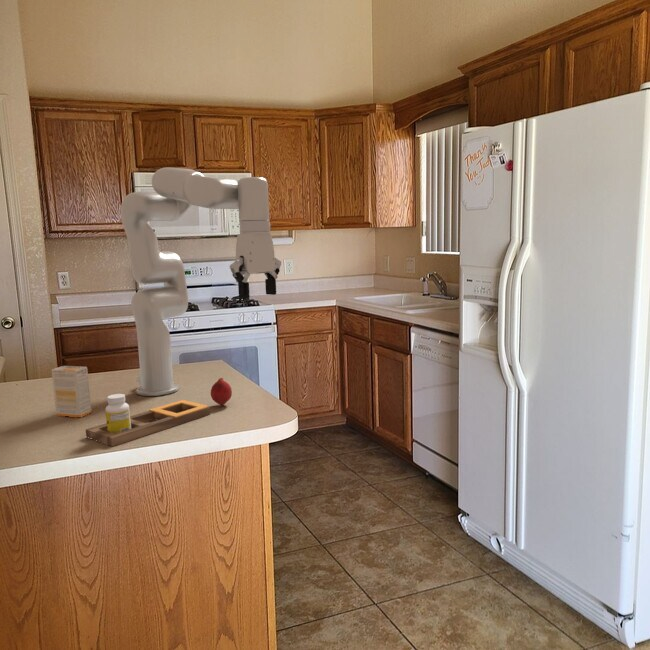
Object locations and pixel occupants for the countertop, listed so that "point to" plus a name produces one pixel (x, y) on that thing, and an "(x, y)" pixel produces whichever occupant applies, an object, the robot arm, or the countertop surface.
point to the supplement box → (71, 391)
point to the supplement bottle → (117, 414)
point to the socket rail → (163, 414)
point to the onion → (221, 392)
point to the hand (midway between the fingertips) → (258, 296)
